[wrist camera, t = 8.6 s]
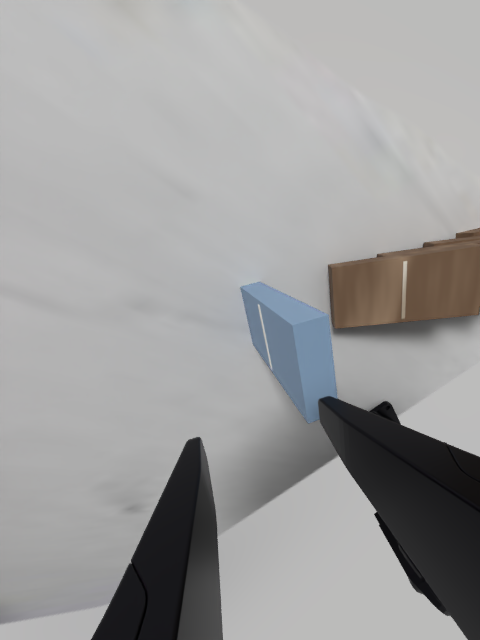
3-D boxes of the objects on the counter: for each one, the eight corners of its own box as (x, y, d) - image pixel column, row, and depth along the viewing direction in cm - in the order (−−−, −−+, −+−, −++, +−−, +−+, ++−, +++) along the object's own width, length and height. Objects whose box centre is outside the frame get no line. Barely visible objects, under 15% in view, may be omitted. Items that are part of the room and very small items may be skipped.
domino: (328, 264, 20) (471, 243, 18) (331, 321, 22) (463, 307, 20) (331, 268, 19) (488, 244, 17) (335, 328, 20) (478, 314, 18)
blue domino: (260, 281, 20) (329, 314, 10) (271, 338, 21) (339, 412, 12) (239, 286, 19) (291, 325, 10) (252, 344, 21) (307, 423, 12)
